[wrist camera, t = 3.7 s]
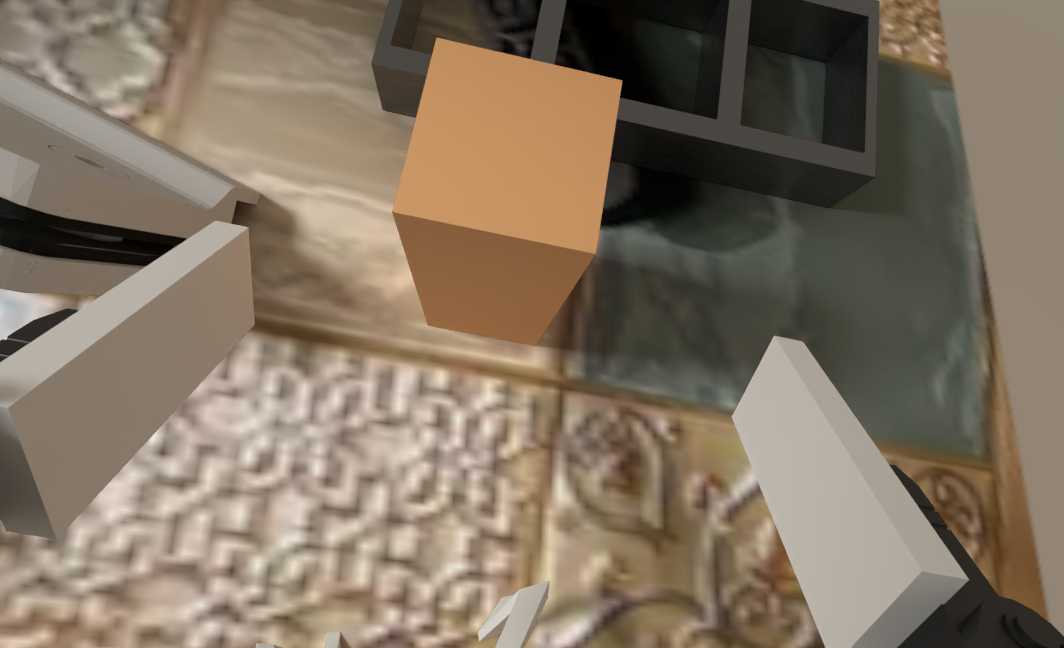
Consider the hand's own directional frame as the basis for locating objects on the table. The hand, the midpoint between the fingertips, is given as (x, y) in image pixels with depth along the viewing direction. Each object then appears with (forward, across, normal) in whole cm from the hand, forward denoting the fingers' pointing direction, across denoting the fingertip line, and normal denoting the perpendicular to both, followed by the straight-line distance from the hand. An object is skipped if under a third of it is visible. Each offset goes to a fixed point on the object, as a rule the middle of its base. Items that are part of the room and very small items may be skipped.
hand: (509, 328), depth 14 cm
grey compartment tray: (+17, +3, +5) cm, 18 cm away
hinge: (+9, -20, -3) cm, 22 cm away
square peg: (+9, -1, -3) cm, 9 cm away
